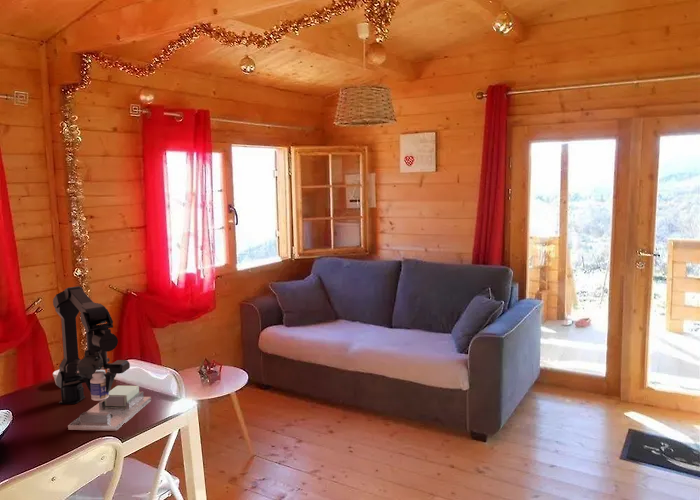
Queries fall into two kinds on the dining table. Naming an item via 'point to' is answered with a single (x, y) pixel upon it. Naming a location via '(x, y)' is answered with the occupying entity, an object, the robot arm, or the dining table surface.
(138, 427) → the dining table surface
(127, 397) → the block
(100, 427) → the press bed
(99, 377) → the pill bottle
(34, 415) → the dining table surface
